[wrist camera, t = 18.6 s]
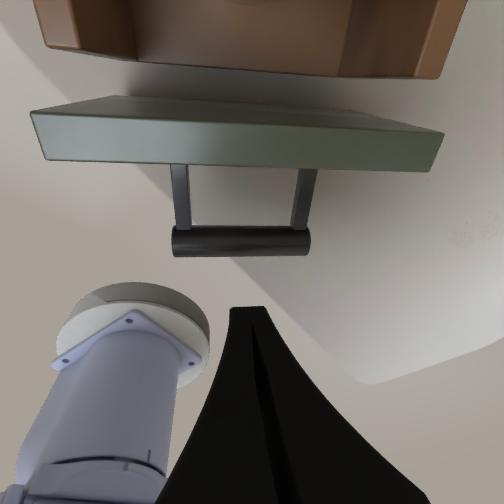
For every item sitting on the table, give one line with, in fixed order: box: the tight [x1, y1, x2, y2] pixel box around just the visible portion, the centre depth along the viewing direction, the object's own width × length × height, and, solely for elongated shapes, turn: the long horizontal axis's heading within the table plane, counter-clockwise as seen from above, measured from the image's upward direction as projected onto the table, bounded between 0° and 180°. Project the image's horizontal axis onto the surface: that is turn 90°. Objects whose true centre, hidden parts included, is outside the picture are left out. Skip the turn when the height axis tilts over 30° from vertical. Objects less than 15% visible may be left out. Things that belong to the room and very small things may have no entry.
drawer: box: [30, 0, 468, 257], centre depth 9 cm, size 16×11×7 cm
